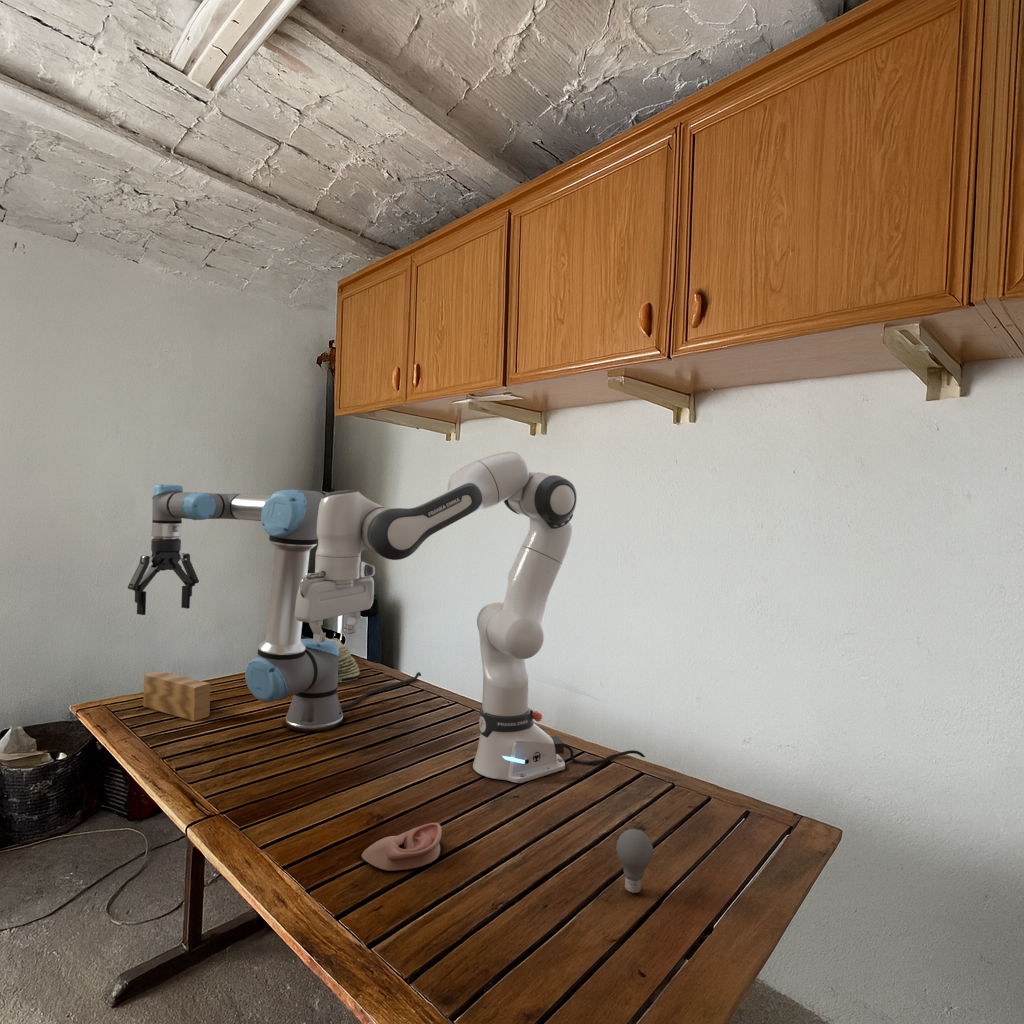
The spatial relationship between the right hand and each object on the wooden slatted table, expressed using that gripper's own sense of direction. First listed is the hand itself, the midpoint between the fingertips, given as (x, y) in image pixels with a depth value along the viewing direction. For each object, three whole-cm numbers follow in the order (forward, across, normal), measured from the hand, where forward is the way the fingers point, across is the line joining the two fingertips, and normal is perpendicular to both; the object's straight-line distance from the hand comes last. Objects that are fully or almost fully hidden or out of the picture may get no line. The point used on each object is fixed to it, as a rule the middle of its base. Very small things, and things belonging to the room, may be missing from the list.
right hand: (335, 637), depth 128 cm
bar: (+35, +24, +74) cm, 86 cm away
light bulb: (+35, +2, -62) cm, 71 cm away
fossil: (+35, +70, +57) cm, 97 cm away
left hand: (+7, +24, +81) cm, 85 cm away
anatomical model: (+35, -7, -22) cm, 42 cm away
